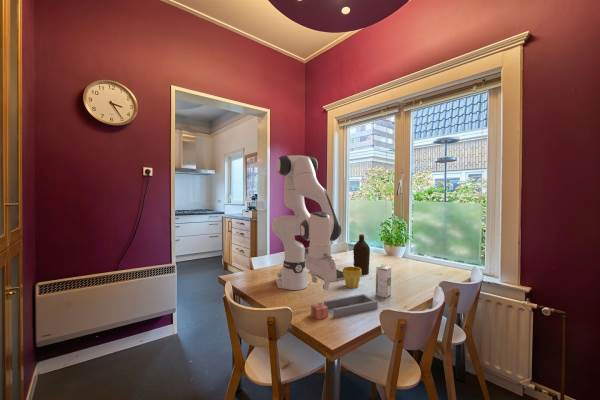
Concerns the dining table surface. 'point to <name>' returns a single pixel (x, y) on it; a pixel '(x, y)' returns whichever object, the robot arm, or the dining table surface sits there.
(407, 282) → the dining table surface
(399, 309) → the dining table surface
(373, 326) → the dining table surface
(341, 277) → the hardcover book
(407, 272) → the dining table surface
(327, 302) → the channel
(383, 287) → the syrup box
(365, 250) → the olive oil
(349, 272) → the plant pot
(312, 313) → the red block
